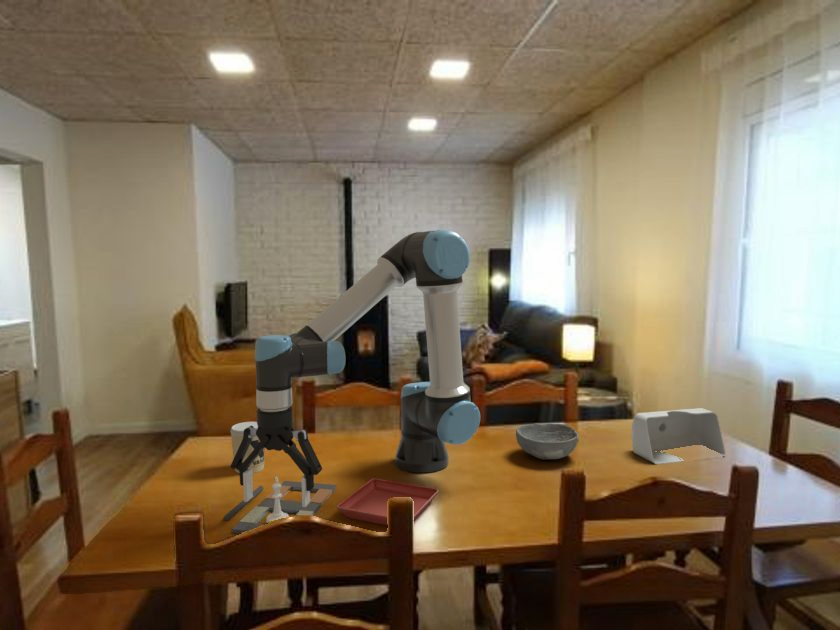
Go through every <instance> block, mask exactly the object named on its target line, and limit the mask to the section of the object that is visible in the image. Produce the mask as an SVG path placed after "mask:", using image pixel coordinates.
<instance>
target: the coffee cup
mask: <svg viewBox="0 0 840 630" xmlns="http://www.w3.org/2000/svg"><path fill="white" fill-rule="evenodd" d="M249 426H253V427H254V428H256V429H257V428H258V425H257V421H243V422H238V423H236V424H234V425H232V426H231V429H230V430H229V431H230V436H231V438H230V439H231V446H232V455H233V456H232V458H233V459H234V457H235V455H236V453H237V451H238V448H239V446H240V444H241V442H242V440H243V432H244V429H246V428H248V427H249ZM259 442H260V440H259V439H258V437H257V436H256V435H255V436H254V437H253V439H252V441H251V443H250V445H249V447H248V450H247V452H246V454H245V456H244V458H243V460H242V463H243V462H244V461H245V460H246V459H247V457H248V456H249V455H250V454H251V452H252V451H253V450H254V449H255V447H256V446H257V445H258V443H259ZM265 450H266V448H264V449H263V450H262V452H261V453H260V454H259V455H258V456H257V458H256V459H255V460H254V461H253V462H252V464H251V465H250V467H248V469H252V474H255V473H258V472H261V471H263V470H264V468H265V459H266V458H265V457H266V456H265V454H266V451H265ZM234 471H235V472H236V473H238V474H240V472H239V470H237V469H234Z"/></svg>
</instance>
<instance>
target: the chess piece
mask: <svg viewBox="0 0 840 630" xmlns="http://www.w3.org/2000/svg"><path fill="white" fill-rule="evenodd" d="M274 481H275V482H274V483H273V484H272V485H271V487H272V491H273V490H274V493H275V494H273V495H272V497H273V498H275V504H274V512H272V513H270V514H268V515H266V518H265V519H266V520H265V522H266V524H267V523H268V522H271V521H274V520H278V519H281V518H286V517H289V518H290V516H289V513H284V512H282V511H281V506H280V499H279V498H280V497H282V494H281V493H279V492H280V489H281V486H282V485H281V484H282V483H280V482H279V477H278V475H275V478H274Z"/></svg>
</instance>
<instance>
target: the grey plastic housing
mask: <svg viewBox="0 0 840 630" xmlns="http://www.w3.org/2000/svg"><path fill="white" fill-rule="evenodd" d="M721 430H722V429H721V426H720V420H719V416H718V414H717V413H716V412H715V411H711V410H708V409H705V408H703V407H699V408H698V407H697V408H685V409H673V410H672V409H671V410H663V411H662V410H661V411H649V412H637V413H636V414H635V415H634V418H633V420H632V422H631V444H632V451H633V453H634V454H636V455H637V456H639V457H641V458H643V459H645V460H646V461H649V462H650V463H653V464H655V465H664V464H665V465H666V464H672V463H675V462H676V463H682V462H681V461H684V460H683V459H682V458H680V457H679V458H680V459H681V460H680V459H679V458H678V457H677V456H674V455H670V454H666V452H663V453H661V452H660V451H661V450H662V451H663V450H668V449H674V448H680V447H686V446H692V445H703V446H706V447H707V448H709V449H711V450H714V451H716V452H718V453H720V454H722V455H725V456H726V448H725V443H724V438H723V435H722V434H723V433H722V431H721ZM655 451H657V452H655ZM676 463H675V464H676Z"/></svg>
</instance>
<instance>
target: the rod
mask: <svg viewBox="0 0 840 630" xmlns="http://www.w3.org/2000/svg"><path fill="white" fill-rule="evenodd" d="M263 490H264V486H263V485H259V486H258V487H257V488H256V489H254V490H253V497H252V498H251V499H250V500H249V501H248V502H244V499H243V500H241V501H240V502H239V503H238V504H237V505H235V507H233V508H232V509H231V510H230V511H229V512H227V513H226V514H225V515H224V516H223V519H224V520H225V521H228V520H230V519H231V518H232V517H233V516H234V515H236V514H237V513H238V512H239V511H240V510H241V509H243V507H245V506H246V505H248V504H249V502H251V501H252V500H253V499H254V498H255V497H256V496H258V495H259V494H260V493H261V492H262V491H263Z"/></svg>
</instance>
